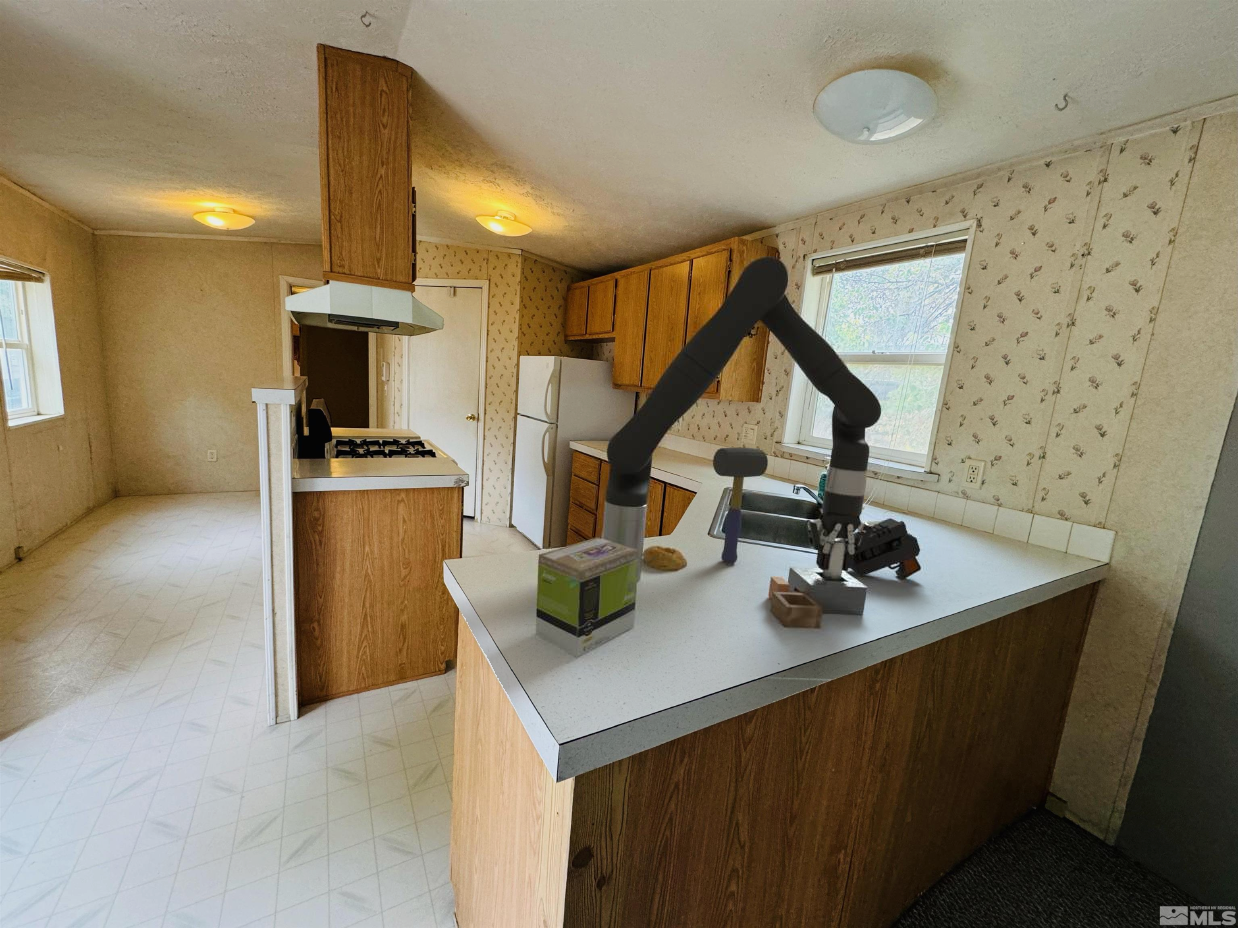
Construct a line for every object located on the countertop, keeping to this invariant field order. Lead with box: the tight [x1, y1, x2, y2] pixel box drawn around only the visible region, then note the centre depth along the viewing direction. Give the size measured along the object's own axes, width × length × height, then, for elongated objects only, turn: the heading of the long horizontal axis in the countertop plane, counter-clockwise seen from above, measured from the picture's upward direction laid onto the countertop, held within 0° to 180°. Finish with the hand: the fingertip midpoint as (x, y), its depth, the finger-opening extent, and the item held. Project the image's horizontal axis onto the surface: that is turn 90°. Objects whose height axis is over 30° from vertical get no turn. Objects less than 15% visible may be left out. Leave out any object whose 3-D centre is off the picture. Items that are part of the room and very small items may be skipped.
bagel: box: [642, 545, 688, 571], centre depth 121 cm, size 10×11×5 cm
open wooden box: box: [769, 592, 823, 629], centre depth 96 cm, size 7×7×4 cm
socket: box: [787, 566, 868, 616], centre depth 105 cm, size 12×10×6 cm
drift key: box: [767, 576, 801, 600], centre depth 104 cm, size 9×4×4 cm, turn 95°
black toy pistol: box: [849, 517, 922, 580], centre depth 125 cm, size 6×19×15 cm, turn 89°
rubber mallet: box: [712, 446, 769, 566], centre depth 123 cm, size 12×8×30 cm, turn 113°
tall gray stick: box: [822, 538, 846, 582], centre depth 104 cm, size 4×4×14 cm
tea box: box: [535, 536, 639, 658], centre depth 84 cm, size 15×10×15 cm, turn 141°
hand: (832, 568), depth 104 cm, fingers open, 4 cm apart
